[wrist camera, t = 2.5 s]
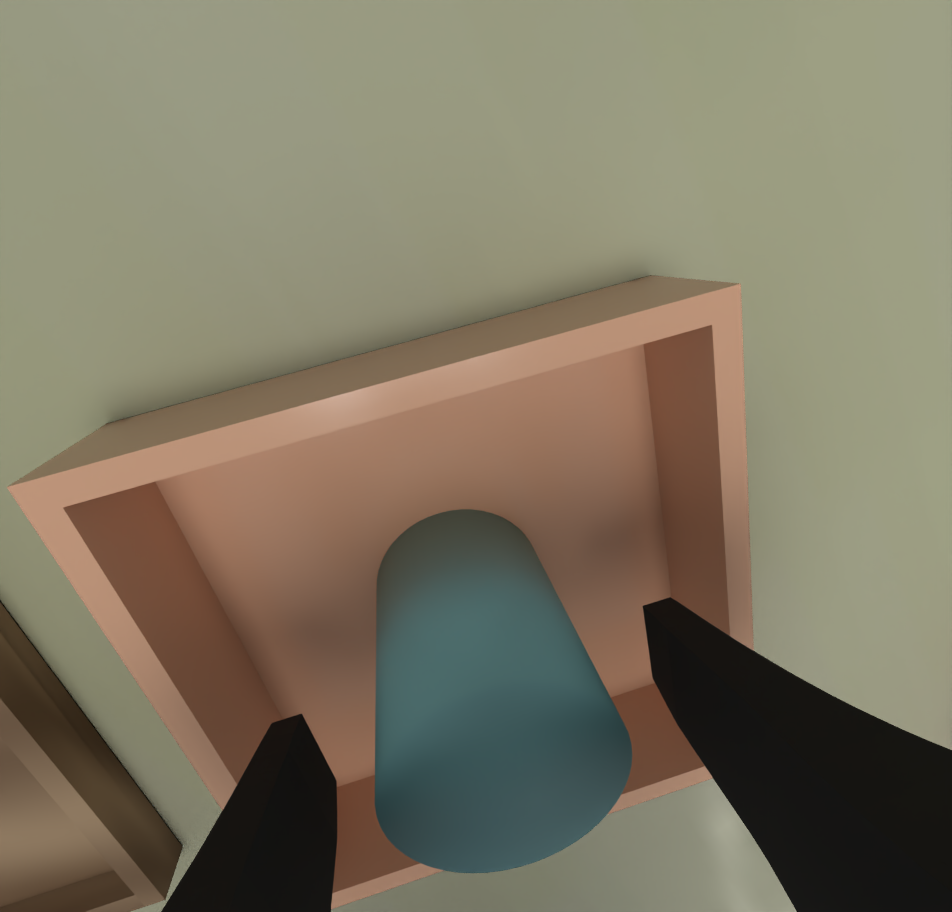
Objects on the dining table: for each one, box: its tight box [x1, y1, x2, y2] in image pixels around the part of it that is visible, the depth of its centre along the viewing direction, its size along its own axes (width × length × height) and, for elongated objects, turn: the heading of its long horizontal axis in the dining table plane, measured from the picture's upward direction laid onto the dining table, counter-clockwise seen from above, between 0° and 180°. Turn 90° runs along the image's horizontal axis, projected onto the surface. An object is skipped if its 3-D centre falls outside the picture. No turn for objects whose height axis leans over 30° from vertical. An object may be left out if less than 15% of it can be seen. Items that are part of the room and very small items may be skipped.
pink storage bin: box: [7, 275, 754, 909], centre depth 13 cm, size 13×13×4 cm
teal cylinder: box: [375, 509, 632, 873], centre depth 12 cm, size 4×4×6 cm
